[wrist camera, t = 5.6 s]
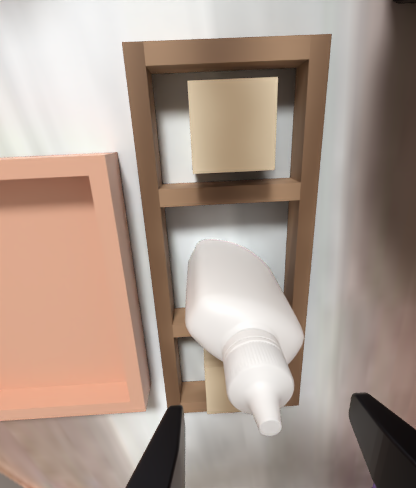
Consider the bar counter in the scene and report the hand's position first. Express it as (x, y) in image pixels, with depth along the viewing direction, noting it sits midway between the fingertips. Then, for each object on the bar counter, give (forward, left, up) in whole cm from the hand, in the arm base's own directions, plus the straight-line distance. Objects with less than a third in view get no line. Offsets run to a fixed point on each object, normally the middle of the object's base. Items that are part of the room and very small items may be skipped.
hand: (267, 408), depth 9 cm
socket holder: (0, 0, -12) cm, 12 cm away
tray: (+13, +2, -12) cm, 18 cm away
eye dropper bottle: (0, +1, -12) cm, 12 cm away
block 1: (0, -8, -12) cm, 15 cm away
